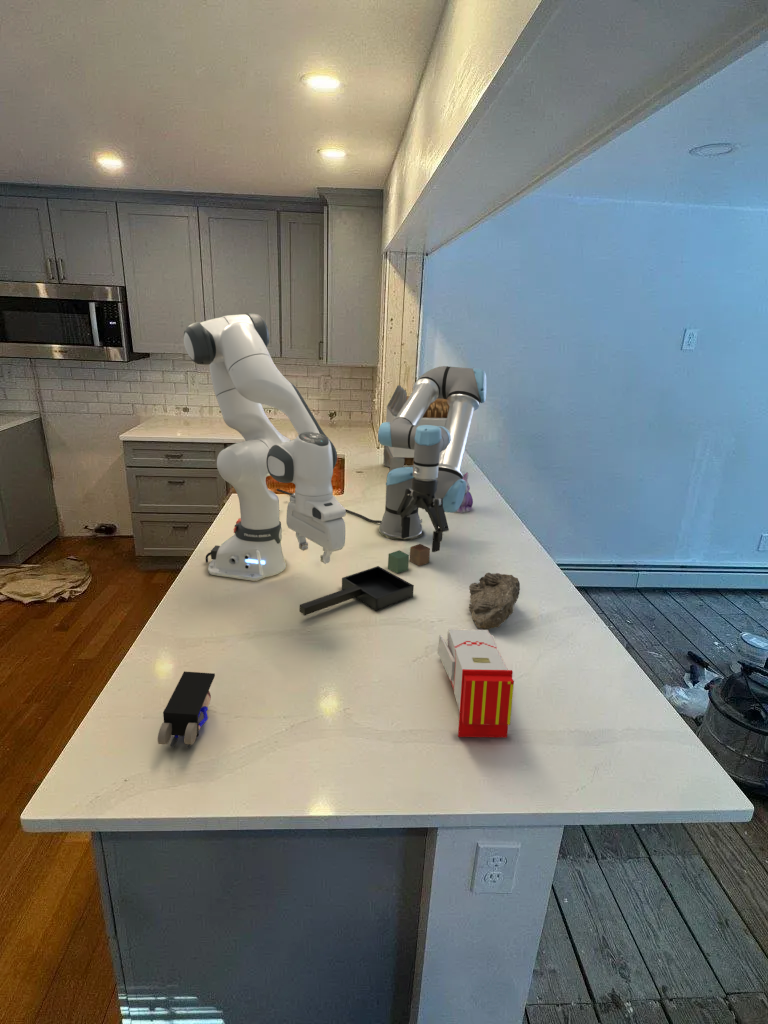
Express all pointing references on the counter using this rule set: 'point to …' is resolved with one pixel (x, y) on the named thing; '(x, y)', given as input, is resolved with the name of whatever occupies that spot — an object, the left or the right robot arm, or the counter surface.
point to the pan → (365, 591)
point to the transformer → (432, 416)
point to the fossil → (493, 599)
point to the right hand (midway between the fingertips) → (420, 544)
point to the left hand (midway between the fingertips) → (314, 555)
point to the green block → (398, 561)
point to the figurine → (466, 498)
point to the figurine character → (186, 708)
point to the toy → (478, 682)
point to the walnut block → (419, 554)
